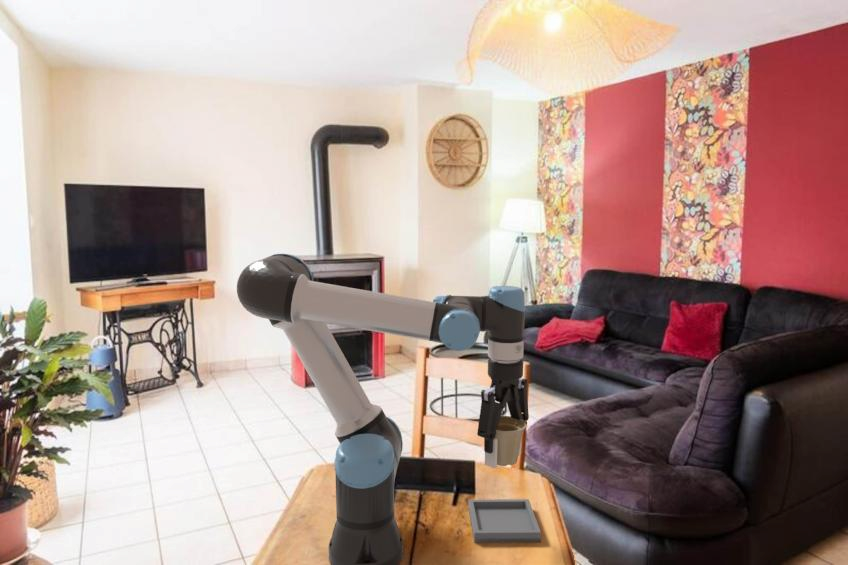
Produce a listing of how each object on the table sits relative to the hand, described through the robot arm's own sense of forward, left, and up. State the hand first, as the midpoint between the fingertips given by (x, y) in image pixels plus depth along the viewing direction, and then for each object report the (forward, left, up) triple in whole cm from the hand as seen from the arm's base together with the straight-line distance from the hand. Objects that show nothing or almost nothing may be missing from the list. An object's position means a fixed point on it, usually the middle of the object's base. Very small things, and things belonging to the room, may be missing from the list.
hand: (503, 459), depth 133 cm
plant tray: (0, 0, -15) cm, 15 cm away
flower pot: (0, 0, 0) cm, 0 cm away
